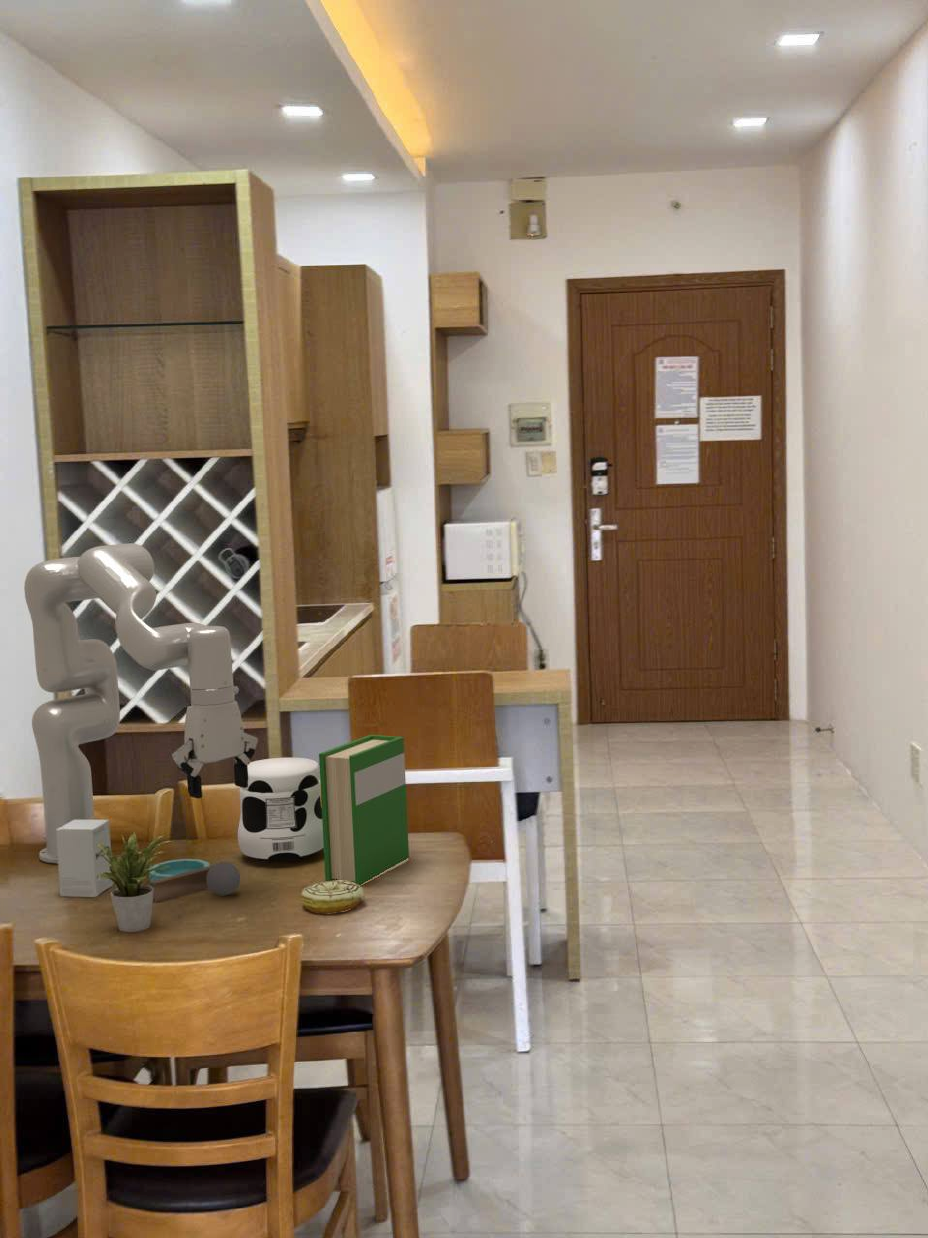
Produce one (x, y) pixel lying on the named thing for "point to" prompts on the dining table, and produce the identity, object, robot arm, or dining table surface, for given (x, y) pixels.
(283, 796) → the milk container
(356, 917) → the dining table surface
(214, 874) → the charcoal ball
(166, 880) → the brown wooden bar
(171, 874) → the teal dish
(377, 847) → the hardback book
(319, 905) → the decorated donut
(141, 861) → the house plant
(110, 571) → the robot arm
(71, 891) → the supplement box
